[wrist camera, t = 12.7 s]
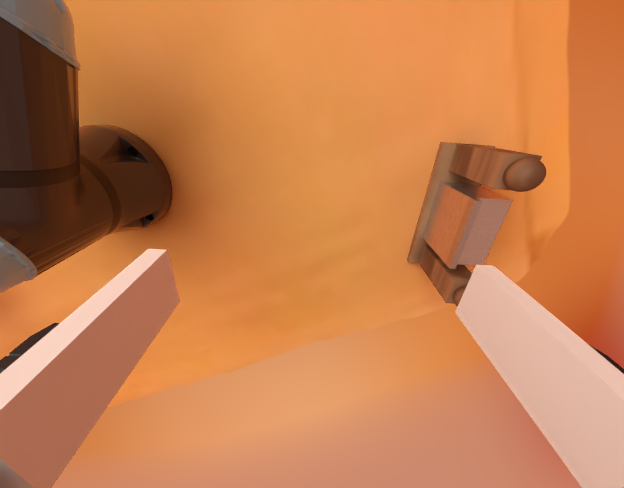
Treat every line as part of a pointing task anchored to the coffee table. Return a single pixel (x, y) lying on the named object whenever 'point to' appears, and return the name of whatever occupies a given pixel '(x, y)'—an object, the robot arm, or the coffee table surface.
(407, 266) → the coffee table surface
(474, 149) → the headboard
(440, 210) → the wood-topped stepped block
